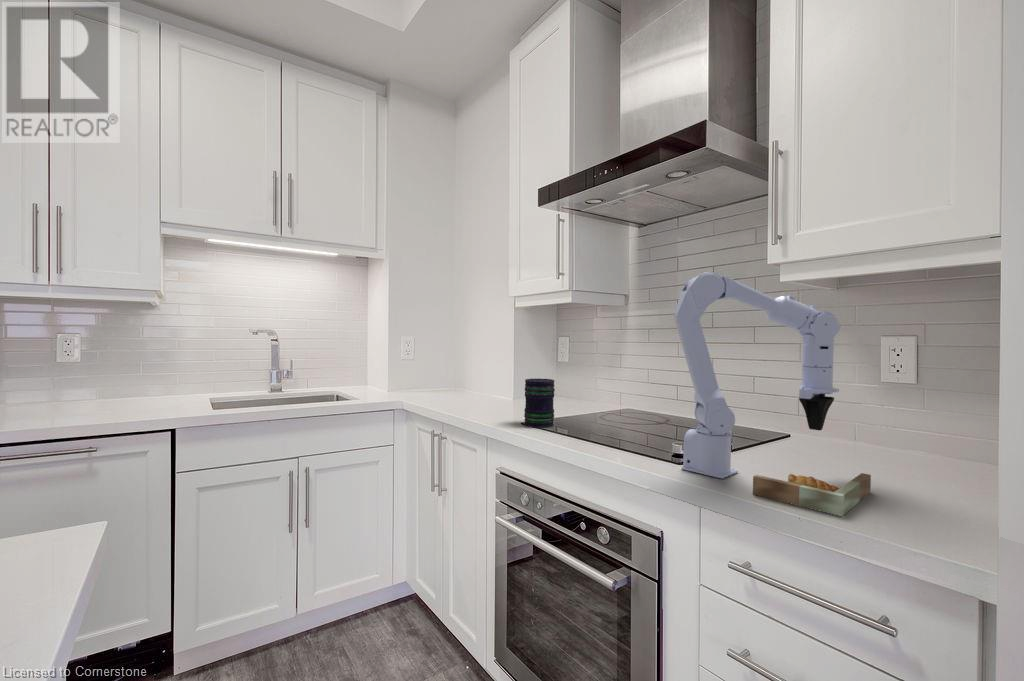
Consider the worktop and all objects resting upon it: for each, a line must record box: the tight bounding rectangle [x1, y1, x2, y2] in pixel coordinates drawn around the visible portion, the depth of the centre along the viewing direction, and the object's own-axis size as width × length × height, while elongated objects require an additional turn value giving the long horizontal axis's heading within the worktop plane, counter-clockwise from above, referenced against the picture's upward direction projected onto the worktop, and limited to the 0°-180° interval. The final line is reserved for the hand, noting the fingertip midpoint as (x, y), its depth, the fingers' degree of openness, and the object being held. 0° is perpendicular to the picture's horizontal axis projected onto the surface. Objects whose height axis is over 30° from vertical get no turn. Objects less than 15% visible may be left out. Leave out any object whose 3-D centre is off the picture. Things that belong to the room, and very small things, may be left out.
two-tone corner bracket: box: [752, 472, 872, 517], centre depth 93 cm, size 14×20×4 cm
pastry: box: [787, 473, 840, 492], centre depth 92 cm, size 9×7×4 cm
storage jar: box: [523, 378, 556, 429], centre depth 158 cm, size 10×10×15 cm
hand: (815, 429), depth 104 cm, fingers closed
